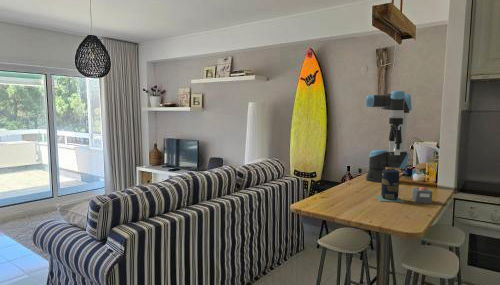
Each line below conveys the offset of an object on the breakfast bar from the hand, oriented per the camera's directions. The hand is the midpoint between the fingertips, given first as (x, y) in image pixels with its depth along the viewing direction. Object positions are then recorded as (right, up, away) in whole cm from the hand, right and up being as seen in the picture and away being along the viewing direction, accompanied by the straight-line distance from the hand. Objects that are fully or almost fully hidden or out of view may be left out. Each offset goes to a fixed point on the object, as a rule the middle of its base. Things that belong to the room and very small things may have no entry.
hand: (394, 153), depth 202 cm
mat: (-3, -27, 0) cm, 27 cm away
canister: (-3, -27, 0) cm, 27 cm away
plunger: (+15, -27, -3) cm, 31 cm away
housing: (+15, -28, -3) cm, 32 cm away
